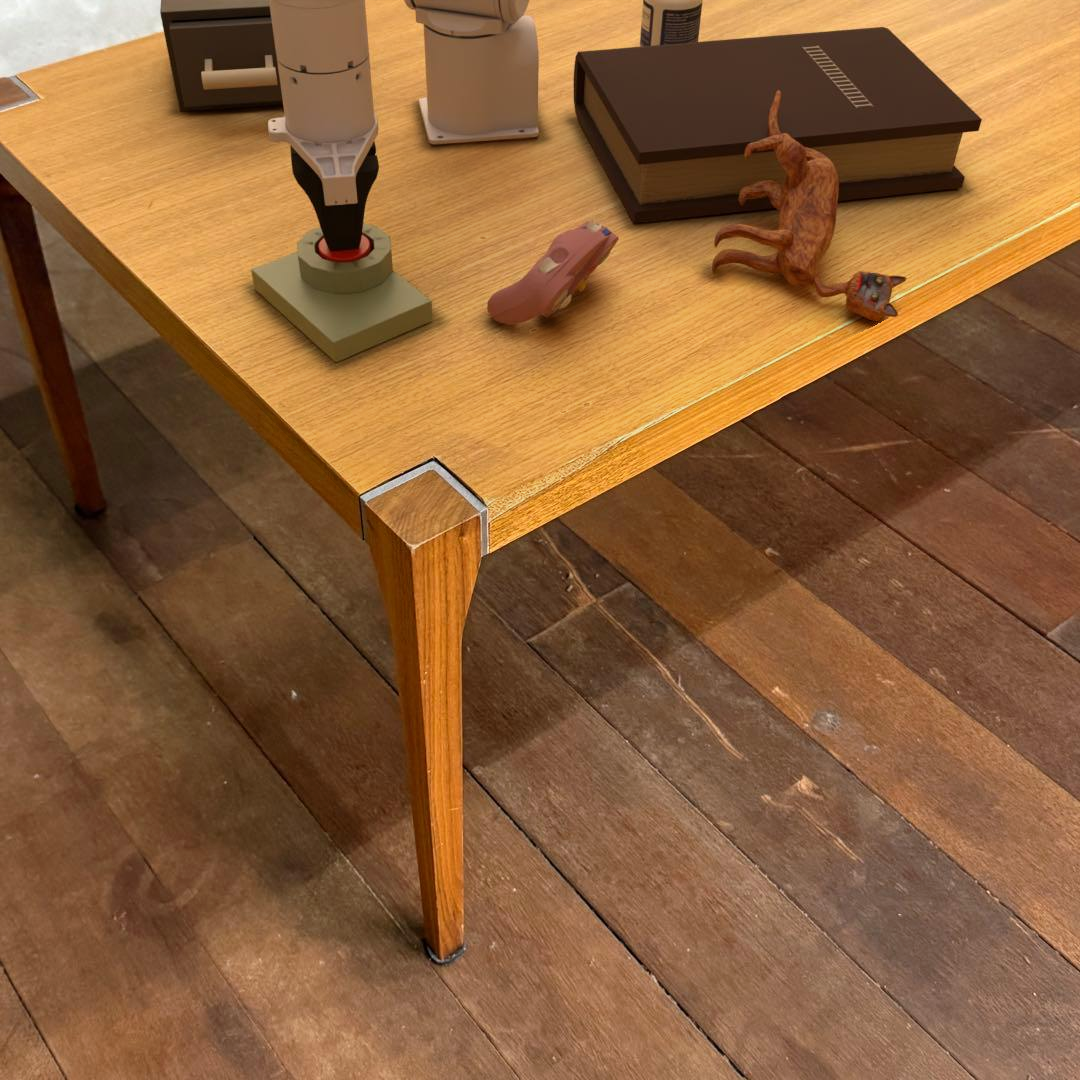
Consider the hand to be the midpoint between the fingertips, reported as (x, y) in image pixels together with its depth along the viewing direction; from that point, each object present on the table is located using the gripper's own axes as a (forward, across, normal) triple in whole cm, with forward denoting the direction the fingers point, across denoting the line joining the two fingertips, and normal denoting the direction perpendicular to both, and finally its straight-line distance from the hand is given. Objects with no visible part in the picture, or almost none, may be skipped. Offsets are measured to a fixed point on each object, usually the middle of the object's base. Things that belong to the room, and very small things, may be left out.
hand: (343, 245), depth 85 cm
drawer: (+3, -32, -7) cm, 33 cm away
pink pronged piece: (+4, +4, +14) cm, 15 cm away
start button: (+2, 0, 0) cm, 2 cm away
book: (+3, -16, +36) cm, 39 cm away
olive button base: (+4, +2, -1) cm, 4 cm away
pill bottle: (+4, -32, +32) cm, 46 cm away
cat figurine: (-1, -2, +29) cm, 29 cm away
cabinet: (+3, -36, -7) cm, 37 cm away
